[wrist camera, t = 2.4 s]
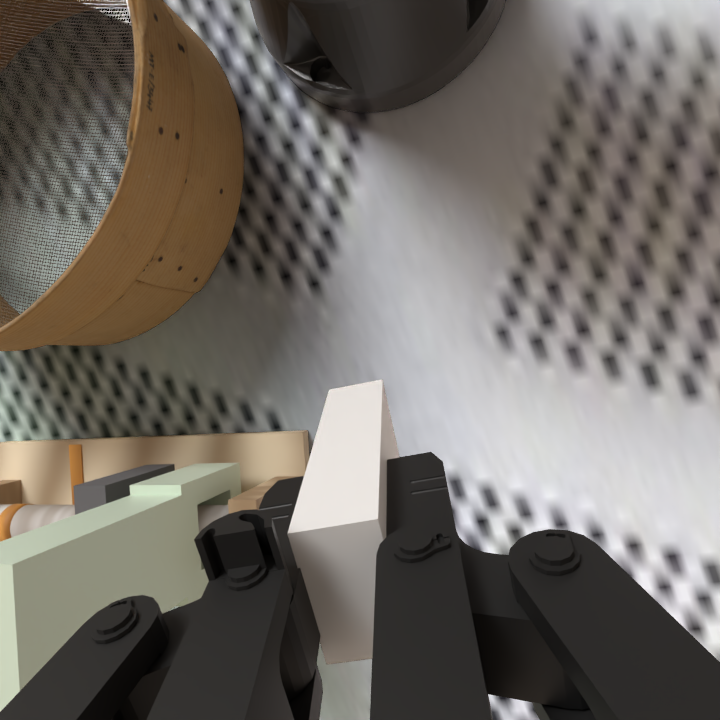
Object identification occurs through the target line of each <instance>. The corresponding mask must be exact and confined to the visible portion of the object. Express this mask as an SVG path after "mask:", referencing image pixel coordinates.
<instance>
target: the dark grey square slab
mask: <svg viewBox="0 0 720 720" xmlns="http://www.w3.org/2000/svg"><path fill="white" fill-rule="evenodd" d="M172 471H175V466H174V464H151V465H144V466H140V467H137V468H133V469H130V470H127V471H123V472H120V473H116V474H113V475H109V476H106V477H102V478H99V479H95V480H92V481H89V482H85V483H82V484H78V485H75V486H73V488H74V505H75V515H76V514H79V513H82V512H85V511H87V510H90V509H93V508H96V507H99V506H101V505H104V504H107V503H110V502H113V501H115V500H118V499H121V498H124V497H127V496H129V495H130V485H132V484H135V483H138V482H141V481H144V480H147V479H150V478H153V477H156V476H160V475H163V474H166V473H169V472H172Z"/></svg>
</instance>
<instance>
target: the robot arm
mask: <svg viewBox="0 0 720 720" xmlns="http://www.w3.org/2000/svg"><path fill="white" fill-rule="evenodd" d="M505 2H506V0H250V3H251V7H252V11H253V15H254V18H255V22H256V25H257V27H258V30H259V33H260V35H261V37H262V39H263V41H264V43H265V45H266V47H267V49H268V50H269V52H270V54H271V55H272V56H273V58H274V59H275V61H276V62H277V63H278V64H279V65H280V67H281V68H282V69H283V70H284V72H285V73H286V74H287V75H288V77H289V78H290V79H291V80H292V81H293V82H294V83H295V84H296V85H297V86H298V87H299V88H300V89H301V90H302V91H303V92H305V93H306V94H308V95H309V96H310V97H312V98H314V99H316V100H317V101H319V102H321V103H323V104H326V105H328V106H331V107H334V108H337V109H341V110H346V111H352V112H381V111H387V110H392V109H397V108H400V107H404V106H407V105H409V104H412V103H415V102H417V101H419V100H421V99H423V98H425V97H427V96H429V95H431V94H433V93H434V92H436V91H438V90H439V89H441V88H442V87H444V86H445V85H446V84H448V83H449V82H450V81H452V80H453V79H454V78H455V77H456V76H458V75H459V74H460V73H461V72H462V71H463V70H464V69H465V68H466V67H467V66H468V65H469V64H470V63H471V62H472V61H473V59H474V58H475V57H476V56H477V55H478V53H479V52H480V51H481V49H482V48H483V46H484V45H485V44H486V42H487V40H488V39H489V37H490V36H491V34H492V32H493V30H494V28H495V27H496V25H497V22H498V20H499V18H500V16H501V13H502V11H503V8H504V5H505ZM194 541H195V544H196V547H197V550H198V552H199V555H200V558H201V561H202V564H203V566H204V569H205V572H206V575H207V577H208V580H209V582H208V584H207V586H206V588H205V591H204V593H203V595H202V597H201V598H200V599H198V600H196V601H194V602H192V603H189V604H186V605H184V606H181V607H178V608H176V609H173V610H171V611H168V612H165V613H163V614H162V612H161V610H160V607H159V604H158V603H157V602H156V601H155V599H154V598H153V597H149V596H145V595H138V596H130V597H127V598H123V599H121V600H117V601H115V602H113V603H111V604H109V605H108V606H106V607H105V608H103V609H101V610H100V611H98V612H97V613H95V614H94V615H93V616H92V617H91V618H90V619H88V620H87V621H86V622H85V623H84V624H83V625H82V626H81V627H80V628H79V629H78V630H77V631H76V632H75V633H74V634H73V635H72V637H71V638H70V639H69V640H68V641H67V642H66V643H65V644H64V645H63V646H62V647H61V648H60V649H59V650H58V651H57V652H56V653H55V655H54V656H53V657H52V658H51V659H50V660H49V661H48V662H47V663H46V664H45V665H44V666H43V667H42V668H41V669H40V670H39V671H38V672H37V674H36V675H35V676H34V677H33V678H32V679H31V680H30V681H29V682H28V683H27V684H26V685H25V686H24V687H23V688H22V689H21V690H20V692H19V693H18V694H17V695H16V696H15V697H14V698H13V699H12V700H11V701H10V702H9V703H8V704H7V705H6V706H5V707H4V708H3V709H2V711H1V712H0V720H319V717H320V709H321V701H322V693H323V690H322V680H321V676H320V673H319V670H318V667H317V663H316V662H317V656H318V649H319V642H320V644H321V647H322V651H323V654H324V657H325V661H326V664H334V663H342V662H349V661H357V660H364V659H372V683H371V709H370V720H493V719H492V713H491V708H490V702H489V697H488V694H491V695H496V696H502V697H507V698H513V699H518V700H523V701H529V702H532V703H533V706H534V709H535V712H536V714H537V715H538V717H539V719H540V720H720V662H719V661H718V660H717V659H716V658H715V657H714V656H713V655H712V654H711V653H710V652H708V651H707V650H706V649H705V648H704V647H703V646H702V645H701V644H700V643H699V642H698V641H697V640H696V639H695V638H694V637H693V636H692V635H691V634H690V633H689V632H688V631H687V630H686V629H685V628H684V627H683V626H681V625H680V624H679V623H678V622H677V621H676V620H675V619H674V618H673V617H672V616H671V615H670V614H669V613H668V612H667V611H666V610H665V609H664V608H663V607H662V606H661V605H660V604H659V603H658V602H657V601H656V600H654V599H653V598H652V597H651V596H650V595H649V594H648V593H647V592H646V591H645V590H644V589H643V588H642V587H641V586H640V585H639V584H638V583H637V582H636V581H635V580H634V579H633V578H632V577H631V576H630V575H629V574H627V573H626V572H625V571H624V570H623V569H622V568H621V567H620V566H619V565H618V564H617V563H616V562H615V561H614V560H613V559H612V558H611V557H610V556H609V555H608V554H607V553H606V552H605V551H604V550H603V549H602V548H600V547H599V546H598V545H597V544H596V543H595V542H593V541H592V540H590V539H588V538H587V537H585V536H584V535H581V534H577V533H574V532H571V531H568V530H551V529H549V530H543V531H538V532H533V533H531V534H529V535H526V536H524V537H522V538H520V539H519V540H518V541H517V542H516V543H515V544H514V545H513V546H512V547H511V548H510V552H509V555H500V554H492V553H486V552H482V551H479V550H476V549H473V548H472V547H470V546H468V545H467V544H465V543H464V542H463V541H462V540H461V539H460V538H459V536H458V534H457V532H456V528H455V522H454V517H453V512H452V507H451V502H450V497H449V492H448V487H447V482H446V477H445V471H444V466H443V462H442V461H441V460H440V459H439V458H438V457H436V456H435V455H434V454H433V453H432V452H428V453H422V454H417V455H411V456H405V457H400V456H399V452H398V447H397V443H396V438H395V434H394V429H393V425H392V420H391V415H390V411H389V406H388V402H387V397H386V393H385V388H384V384H383V379H382V380H377V381H372V382H367V383H361V384H356V385H351V386H346V387H340V388H335V389H330V390H329V392H328V395H327V399H326V402H325V406H324V409H323V413H322V416H321V420H320V423H319V426H318V430H317V433H316V437H315V440H314V444H313V447H312V451H311V454H310V457H309V461H308V464H307V468H306V471H305V475H304V476H300V477H294V478H288V479H283V480H278V481H277V482H276V483H275V484H274V485H273V486H272V487H271V488H270V489H269V490H268V491H267V492H266V493H265V494H264V497H263V499H262V502H261V504H260V507H259V510H257V509H253V510H241V511H237V512H234V513H230V514H227V515H225V516H223V517H221V518H219V519H217V520H215V521H213V522H212V523H210V524H209V525H207V526H206V527H205V528H203V529H202V530H201V531H200V533H199V534H198V535H197V536H196V537H195V539H194Z"/></svg>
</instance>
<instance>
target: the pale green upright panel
mask: <svg viewBox="0 0 720 720" xmlns="http://www.w3.org/2000/svg"><path fill="white" fill-rule="evenodd" d="M239 494H241V477H240V463H199V464H193V465H190V466H187V467H184V468H181V469H178V470H175V471H172V472H169V473H166V474H163V475H160V476H156V477H153V478H150V479H147V480H144V481H141V482H138V483H135V484H132V485H130V495H129V496H127V497H124V498H121V499H118V500H115V501H113V502H110V503H107V504H104V505H101V506H99V507H96V508H93V509H90V510H87V511H85V512H82V513H79V514H76V515H73V516H71V517H68V518H65V519H62V520H59V521H57V522H54V523H51V524H48V525H45V526H43V527H40V528H37V529H34V530H31V531H29V532H26V533H23V534H20V535H17V536H14V537H12V538H9V539H6V540H3V541H0V712H1V711H2V709H3V708H4V707H5V706H6V705H7V704H8V703H9V702H10V701H11V700H12V699H13V698H14V697H15V696H16V695H17V694H18V693H19V692H20V690H21V689H22V688H23V687H24V686H25V685H26V684H27V683H28V682H29V681H30V680H31V679H32V678H33V677H34V676H35V675H36V674H37V672H38V671H39V670H40V669H41V668H42V667H43V666H44V665H45V664H46V663H47V662H48V661H49V660H50V659H51V658H52V657H53V656H54V655H55V653H56V652H57V651H58V650H59V649H60V648H61V647H62V646H63V645H64V644H65V643H66V642H67V641H68V640H69V639H70V638H71V637H72V635H73V634H74V633H75V632H76V631H77V630H78V629H79V628H80V627H81V626H82V625H83V624H84V623H85V622H86V621H87V620H88V619H90V618H91V617H92V616H93V615H94V614H95V613H97V612H98V611H100V610H101V609H103V608H105V607H106V606H108V605H109V604H111V603H113V602H115V601H117V600H121V599H123V598H127V597H130V596H138V595H145V596H149V597H153V598H154V599H155V601H156V602H157V603H158V604H159V607H160V610H161V612H162V614H163V613H165V612H168V611H169V610H170V609H172V608H173V607H174V606H184V605H186V604H189V603H192V602H194V601H196V600H198V599H200V598H201V597H202V595H203V593H204V591H205V588H206V586H207V584H208V582H209V580H208V577H207V575H206V572H205V569H204V566H203V564H202V561H201V558H200V555H199V552H198V550H197V547H196V544H195V541H194V539H195V537H196V536H197V535H198V534H199V525H198V510H197V505H228V500H229V499H231V498H233V497H235V496H237V495H239Z"/></svg>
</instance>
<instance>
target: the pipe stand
mask: <svg viewBox="0 0 720 720" xmlns="http://www.w3.org/2000/svg"><path fill="white" fill-rule="evenodd" d="M308 461H309V443H308V430H302V431H275V432H248V433H221V434H195V435H168V436H141V437H114V438H87V439H60V440H33V441H7V442H1V443H0V541H3V540H6V539H9V538H12V537H14V536H17V535H20V534H23V533H26V532H29V531H31V530H34V529H37V528H40V527H43V526H45V525H48V524H51V523H54V522H57V521H59V520H62V519H65V518H68V517H71V516H73V515H75V505H74V488H73V486H75V485H78V484H82V483H85V482H89V481H92V480H95V479H99V478H102V477H106V476H109V475H113V474H116V473H120V472H123V471H127V470H130V469H133V468H137V467H140V466H144V465H151V464H174V466H175V470H178V469H181V468H184V467H187V466H190V465H193V464H199V463H240V477H241V494H239V495H237V496H235V497H233V498H231V499H229V500H228V505H197V510H198V525H199V533H200V531H201V530H202V529H203V528H205V527H206V526H207V525H209V524H210V523H212V522H213V521H215V520H217V519H219V518H221V517H223V516H225V515H227V514H230V513H234V512H237V511H241V510H253V509H257V510H259V507H260V504H261V502H262V499H263V497H264V494H265V493H266V492H267V491H268V490H269V489H270V488H271V487H272V486H273V485H274V484H275V483H276V482H277V481H278V480H283V479H288V478H294V477H300V476H304V475H305V471H306V468H307V464H308Z"/></svg>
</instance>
